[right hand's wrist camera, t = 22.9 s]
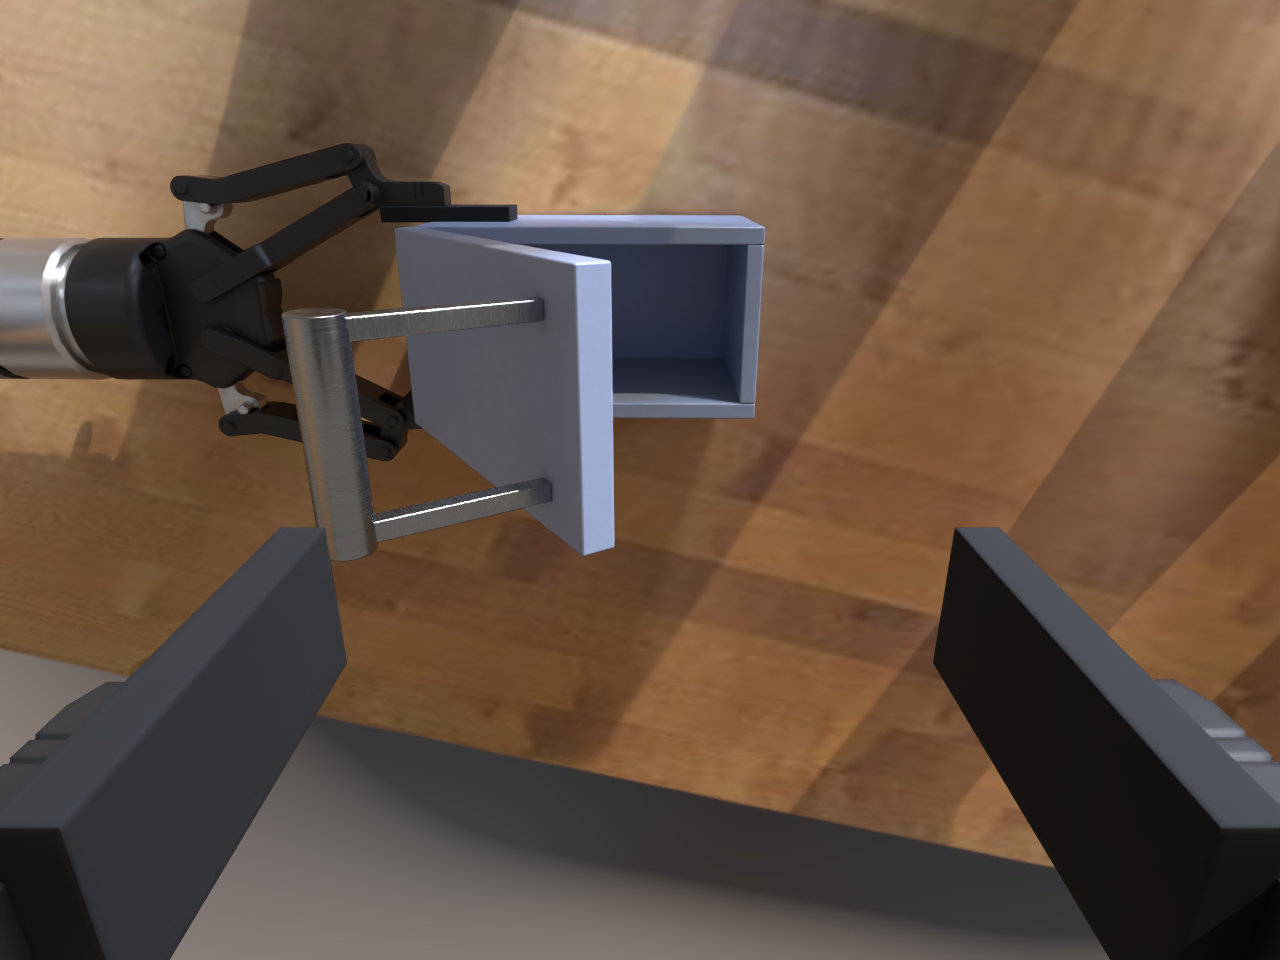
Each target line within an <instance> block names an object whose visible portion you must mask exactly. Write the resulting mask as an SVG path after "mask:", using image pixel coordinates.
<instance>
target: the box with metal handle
mask: <svg viewBox="0 0 1280 960" xmlns="http://www.w3.org/2000/svg"><path fill="white" fill-rule="evenodd" d="M394 232H395V242H396V251H397V260H398V269H399V278H400V287H401V297H402V306H403V308H397V309H385V310H374V311H363V312H351V313H347V311H346V310H345V309H341V308H335V307H312V308H301V309H295V310H290V311H286V312H284V313H282V316H281V317H282V323H283V329H284V335H285V341H286V347H287V353H288V359H289V365H290V371H291V377H292V383H293V389H294V395H295V401H296V407H297V413H298V419H299V425H300V431H301V437H302V443H303V449H304V455H305V461H306V467H307V474H308V480H309V486H310V492H311V498H312V504H313V510H314V516H315V522H316V528H325V530H326V537H327V543H328V549H329V555H330V560H332V561H350V560H356V559H359V558H363V557H365V556H368V555H370V554H371V553H373V552H374V551H375V550H376V549H377V547H378V542H382V541H386V540H390V539H394V538H399V537H403V536H407V535H411V534H416V533H420V532H424V531H428V530H432V529H437V528H441V527H445V526H449V525H454V524H458V523H462V522H466V521H471V520H475V519H479V518H483V517H488V516H492V515H496V514H500V513H505V512H509V511H513V510H517V509H521V508H523V509H524V510H525V511H527V512H528V513H529V514H530V515H532V516H533V517H534V518H535V519H537V520H538V521H539V522H540V523H542V524H543V525H544V526H545V527H547V528H548V529H549V530H551V531H552V532H553V533H554V534H556V535H557V536H558V537H559V538H561V539H562V540H563V541H564V542H566V543H567V544H568V545H569V546H571V547H572V548H573V549H574V550H576V551H577V552H578V553H579V554H581V555H582V556H586V555H590V554H594V553H597V552H601V551H604V550H608V549H611V548H614V467H613V385H612V303H611V262H610V261H608V260H603V259H597V258H591V257H586V256H580V255H575V254H569V253H563V252H558V251H552V250H546V249H541V248H535V247H529V246H524V245H518V244H512V243H507V242H501V241H496V240H490V239H484V238H479V237H473V236H467V235H462V234H456V233H450V232H445V231H439V230H433V229H428V228H422V227H404V228H395V229H394ZM400 336H406V342H407V351H408V361H409V370H410V379H411V388H412V397H413V406H414V416H415V423H416V424H417V425H419V426H420V427H421V428H422V429H424V430H425V431H426V432H428V433H429V434H430V435H431V436H433V437H434V438H435V439H436V440H438V441H439V442H440V443H441V444H443V445H444V446H445V447H446V448H448V449H449V450H450V451H451V452H453V453H454V454H455V455H456V456H458V457H459V458H460V459H461V460H463V461H464V462H465V463H466V464H468V465H469V466H470V467H471V468H473V469H474V470H475V471H476V472H478V473H479V474H480V475H481V476H483V477H484V478H485V479H486V480H488V481H489V482H490V483H492V484H493V485H494V486H495V487H496V488H491V489H486V490H482V491H477V492H473V493H468V494H463V495H459V496H454V497H450V498H445V499H440V500H436V501H431V502H427V503H422V504H417V505H413V506H408V507H404V508H399V509H394V510H390V511H385V512H381V513H376V514H374V509H373V501H372V494H371V487H370V479H369V472H368V464H367V457H366V450H365V442H364V435H363V427H362V420H361V413H360V405H359V398H358V391H357V383H356V376H355V368H354V361H353V354H352V346H351V342H353V341H362V340H372V339H381V338H391V337H400Z"/></svg>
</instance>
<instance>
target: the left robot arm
mask: <svg viewBox="0 0 1280 960" xmlns="http://www.w3.org/2000/svg"><path fill="white" fill-rule="evenodd" d="M375 160H376V157H375V153H374V151H373V150H372V149H371V148H370V147H369V146H366V145H361V144H351V143H344V144H340V145H337V146H333V147H329V148H326V149H322V150H319V151H315V152H312V153H308V154H304V155H301V156H297V157H294V158H290V159H287V160H283V161H279V162H276V163H272V164H269V165H265V166H262V167H258V168H254V169H251V170H247V171H244V172H240V173H237V174H233V175H229V176H226V177H214V176H176V177H174V178H173V179H172V181H171V184H170V188H171V192H172V193H173V195H174V196H175V197H176V198H177V199H179V200H182V201H183V208H184V218H185V228H186V230H184V231H181V232H180V233H178V234H177V235H176V236H174V237H171V238H98V239H94V240H89V239H86V238H5V239H0V379H14V378H17V379H91V380H103V379H107V378H112V377H113V378H116V379H194V380H199V381H202V382H204V383H206V384H208V385H210V386H212V387H215V388H218V392H219V395H220V398H221V401H222V405H223V408H224V411H225V414H226V415H225V416H223V417H222V418H221V419H220V420H219V428H220V430H221V431H222V432H223V433H224V434H226V435H228V436H238V435H248V434H258V433H263V434H268V435H272V436H276V437H281V438H285V439H289V440H294V441H298V442H302V437H301V431H300V425H299V419H298V413H297V407H296V405H295V404H291V403H285V402H275V401H272V402H267V398H266V396H265V395H263V394H260V393H257V392H251V391H249V390H247V389H246V388H245V387H244V386H243V383H242V381H243V380H244V379H245V378H246V377H248V376H249V375H250V374H251V373H253V372H254V371H257V372H259V373H261V374H263V375H265V376H267V377H270V378H272V379H276V380H284V381H287V382H289V383H291V384H293V383H292V377H291V371H290V365H289V359H288V353H287V347H286V341H285V335H284V329H283V323H282V317H281V316H282V313H283V311H282V309H281V301H282V288H281V282H280V279H276V278H275V276H274V274H273V273H274V272H276V271H278V270H279V269H281V268H283V267H284V266H286V265H288V264H289V263H291V262H292V261H293V260H294V259H296V258H297V257H299V256H301V255H302V254H304V253H306V252H307V251H309V250H311V249H313V248H314V247H316V246H318V245H319V244H321V243H323V242H324V241H326V240H328V239H329V238H331V237H333V236H334V235H336V234H338V233H340V232H341V231H343V230H345V229H346V228H348V227H350V226H351V225H353V224H355V223H356V222H358V221H360V220H361V219H363V218H365V217H367V216H368V215H370V214H372V213H373V212H375V211H377V210H378V209H380V213H381V221H382V222H511V221H514V220H516V219H518V217H517V205H451V197H450V186H449V185H447V184H444V183H442V182H394V181H390V180H387V179H386V178H385V177H384V176H383V175H382V174H381V172H380V171H379V168H378V166H377V164H376V162H375ZM346 175H348V177H349V179H350V181H351V183H352V185H353V188H351V189H349V190H348V191H346V192H344V193H343V194H341V195H339V196H338V197H336V198H334V199H333V200H331V201H329V202H328V203H326V204H324V205H323V206H321V207H319V208H318V209H316V210H314V211H313V212H311V213H309V214H308V215H306V216H304V217H303V218H301V219H299V220H298V221H296V222H294V223H293V224H291V225H289V226H288V227H286V228H284V229H283V230H281V231H280V232H278V233H276V234H275V235H273V236H271V237H270V238H268V239H266V240H265V241H263V242H261V243H259V244H257V245H254V246H252V247H250V248H248V249H247V250H245V251H244V250H243V249H241V248H240V247H238V246H237V245H235V244H234V243H232V242H231V241H229V240H228V239H226V238H225V237H223V236H222V235H220V234H219V233H217V232H216V231H214V230H213V229H214V224H215V222H216V221H217V220H219V219H222V218H226V217H228V216H229V215H230V214H231V212H232V208H233V205H232V203H240V202H250V201H254V200H259V199H262V198H266V197H269V196H273V195H277V194H280V193H284V192H288V191H291V190H295V189H298V188H302V187H306V186H309V185H313V184H317V183H320V182H324V181H327V180H331V179H335V178H338V177H342V176H346ZM355 376H356V383H357V391H358V398H359V405H360V413H361V417H363V418H365V419H367V420H369V421H371V422H368V421H364V420H362V427H363V435H364V442H365V450H366V457H368V458H373V459H377V460H381V461H390V460H392V459H393V458H394V457H395V456H396V455H397V453H398V452H399V451H400V450H401V449H402V448H403V447H404V445H405V444H406V442H407V434H408V430H409V429H422V428H421V427H420V426H419V425H417V424H416V423H415V416H414V406H413V397H412V390H411V391H410V392H409V393H408V394H407V395H405V396H404V397H402V396H400V395H398V394H395V393H393V392H391V391H389V390H387V389H385V388H383V387H381V386H379V385H377V384H375V383H373V382H371V381H368V380H366V379H364V378H362V377H360V376H358V375H356V374H355ZM372 422H373V423H372Z"/></svg>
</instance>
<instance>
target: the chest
mask: <svg viewBox="0 0 1280 960" xmlns="http://www.w3.org/2000/svg"><path fill="white" fill-rule="evenodd" d="M517 217H518V219H516V220H514V221H511V222H429V223H425V224H421V225H416V226H413V227H422V228H428V229H433V230H439V231H445V232H450V233H456V234H462V235H467V236H473V237H479V238H484V239H490V240H496V241H501V242H507V243H512V244H518V245H524V246H529V247H535V248H541V249H546V250H552V251H558V252H563V253H569V254H575V255H580V256H586V257H591V258H597V259H603V260H608V261H610V262H611V303H612V385H613V418H727V419H753V418H754V415H755V404H754V403H755V397H756V379H757V362H758V344H759V327H760V309H761V292H762V274H763V257H764V245H763V244H764V240H765V227H763V226H761V225H759V224H757V223H755V222H753V221H751V220H749V219H747V218H745V217H743V216H742V215H741V214H517Z"/></svg>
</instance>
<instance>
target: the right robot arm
mask: <svg viewBox="0 0 1280 960" xmlns="http://www.w3.org/2000/svg"><path fill="white" fill-rule="evenodd" d="M346 664H347V660H346V654H345V648H344V641H343V635H342V629H341V623H340V617H339V611H338V604H337V598H336V592H335V586H334V580H333V574H332V567H331V561H330V555H329V549H328V543H327V537H326V530H325V528H280V529H279V530H278V531H277V532H276V533H275V534H274V535H273V536H272V537H271V538H270V539H269V540H268V541H267V542H266V543H264V544H263V545H262V546H261V547H260V548H259V549H258V550H257V551H256V552H255V553H254V554H253V555H252V556H251V557H250V558H249V559H248V560H247V561H246V562H245V563H244V564H243V565H242V566H241V567H240V568H239V569H238V570H237V571H236V572H235V573H234V574H233V575H232V576H231V577H230V578H229V579H228V580H227V581H226V582H225V583H224V584H223V585H222V586H221V587H220V588H219V589H218V590H217V591H216V592H215V593H214V594H213V595H212V596H211V597H210V598H209V599H208V600H207V601H206V602H205V603H204V604H203V605H202V606H201V607H200V608H199V609H198V610H197V611H196V612H195V613H194V614H193V615H192V616H191V617H190V618H189V619H188V620H187V621H186V622H185V623H184V624H183V625H182V626H181V627H180V628H179V629H178V630H177V631H176V632H174V633H173V634H172V635H171V636H170V637H169V638H168V639H167V640H166V641H165V642H164V643H163V644H162V645H161V646H160V647H159V648H158V649H157V650H156V651H155V652H154V653H153V654H152V655H151V656H150V657H149V658H148V659H147V660H146V661H145V662H144V663H143V664H142V665H141V666H140V667H139V668H138V669H137V670H136V671H135V672H134V673H133V674H132V675H131V676H130V677H129V678H128V679H127V680H126V681H125V682H106V683H105V684H103V685H101V686H100V687H98V688H96V689H94V690H93V691H91V692H89V693H88V694H86V695H84V696H82V697H81V698H79V699H77V700H76V701H74V702H72V703H70V704H69V705H67V706H66V707H64V708H63V709H62V710H61V711H60V712H59V713H58V714H57V715H56V716H55V717H54V718H53V719H52V720H51V721H49V722H48V723H47V724H46V725H45V726H44V727H43V728H42V729H41V730H40V731H39V732H38V733H37V734H36V737H35V740H29V741H28V742H27V743H26V744H25V745H24V746H23V747H22V748H20V749H19V750H18V751H17V752H16V753H15V754H14V755H13V756H12V757H11V758H10V763H9V764H3V765H2V766H1V767H0V960H170V958H171V957H172V955H173V953H174V952H175V950H176V948H177V947H178V945H179V943H180V942H181V940H182V938H183V937H184V935H185V933H186V932H187V930H188V928H189V926H190V925H191V923H192V921H193V920H194V918H195V916H196V915H197V913H198V911H199V910H200V908H201V906H202V905H203V903H204V901H205V900H206V898H207V896H208V895H209V893H210V891H211V890H212V888H213V886H214V885H215V883H216V881H217V880H218V878H219V876H220V875H221V873H222V871H223V870H224V868H225V866H226V865H227V863H228V861H229V860H230V858H231V856H232V854H233V853H234V851H235V849H236V848H237V846H238V844H239V843H240V841H241V839H242V838H243V836H244V834H245V833H246V831H247V829H248V828H249V826H250V824H251V823H252V821H253V819H254V818H255V816H256V814H257V813H258V811H259V809H260V808H261V806H262V804H263V802H264V801H265V799H266V798H267V796H268V794H269V793H270V791H271V789H272V788H273V786H274V784H275V783H276V781H277V779H278V777H279V776H280V774H281V772H282V771H283V769H284V767H285V766H286V764H287V762H288V761H289V759H290V757H291V756H292V754H293V752H294V751H295V749H296V747H297V746H298V744H299V742H300V741H301V739H302V737H303V736H304V734H305V732H306V731H307V729H308V727H309V726H310V724H311V722H312V721H313V719H314V717H315V716H316V714H317V712H318V711H319V709H320V707H321V705H322V704H323V702H324V700H325V699H326V697H327V695H328V694H329V692H330V690H331V689H332V687H333V685H334V684H335V682H336V680H337V679H338V677H339V675H340V674H341V672H342V670H343V669H344V667H345V665H346ZM933 664H934V665H935V667H936V669H937V670H938V672H939V674H940V675H941V677H942V679H943V680H944V682H945V684H946V685H947V687H948V689H949V690H950V692H951V694H952V695H953V697H954V699H955V700H956V702H957V704H958V706H959V707H960V709H961V711H962V712H963V714H964V716H965V717H966V719H967V721H968V722H969V724H970V726H971V727H972V729H973V731H974V732H975V734H976V736H977V737H978V739H979V741H980V742H981V744H982V746H983V747H984V749H985V751H986V752H987V754H988V756H989V757H990V759H991V761H992V762H993V764H994V766H995V767H996V769H997V771H998V772H999V774H1000V776H1001V778H1002V779H1003V781H1004V783H1005V784H1006V786H1007V788H1008V789H1009V791H1010V793H1011V794H1012V796H1013V798H1014V799H1015V801H1016V803H1017V804H1018V806H1019V808H1020V809H1021V811H1022V813H1023V814H1024V816H1025V818H1026V819H1027V821H1028V823H1029V824H1030V826H1031V828H1032V829H1033V831H1034V833H1035V834H1036V836H1037V838H1038V839H1039V841H1040V843H1041V844H1042V846H1043V848H1044V850H1045V851H1046V853H1047V855H1048V856H1049V858H1050V860H1051V861H1052V863H1053V865H1054V866H1055V868H1056V870H1057V871H1058V873H1059V875H1060V876H1061V878H1062V880H1063V881H1064V883H1065V885H1066V886H1067V888H1068V890H1069V891H1070V893H1071V895H1072V896H1073V898H1074V900H1075V901H1076V903H1077V905H1078V906H1079V908H1080V910H1081V911H1082V913H1083V915H1084V916H1085V918H1086V920H1087V922H1088V923H1089V925H1090V927H1091V928H1092V930H1093V932H1094V933H1095V935H1096V937H1097V938H1098V940H1099V942H1100V943H1101V945H1102V947H1103V948H1104V950H1105V952H1106V953H1107V955H1108V957H1109V958H1110V960H1280V763H1279V762H1278V761H1272V760H1271V755H1270V754H1269V753H1268V752H1267V751H1266V750H1265V749H1264V748H1263V747H1261V746H1260V745H1259V744H1258V743H1257V742H1256V741H1255V740H1254V739H1253V738H1252V737H1246V735H1245V731H1244V730H1243V729H1242V728H1241V727H1240V726H1239V725H1238V724H1237V723H1235V722H1234V721H1233V720H1232V719H1231V718H1230V717H1229V716H1228V715H1227V714H1226V713H1225V712H1224V711H1222V710H1221V709H1220V708H1219V707H1218V706H1217V705H1216V704H1215V703H1213V702H1211V701H1210V700H1208V699H1206V698H1205V697H1203V696H1201V695H1199V694H1198V693H1196V692H1194V691H1193V690H1191V689H1189V688H1187V687H1186V686H1184V685H1182V684H1181V683H1179V682H1177V681H1175V680H1174V679H1152V678H1151V677H1150V676H1149V675H1148V674H1147V673H1146V672H1145V671H1144V670H1143V669H1142V668H1141V667H1140V666H1139V665H1138V664H1137V663H1136V662H1135V661H1134V660H1133V659H1132V658H1131V657H1130V656H1129V655H1128V654H1127V653H1126V652H1125V651H1124V650H1123V649H1122V648H1121V647H1120V646H1119V645H1118V644H1117V643H1116V642H1115V641H1114V640H1113V639H1112V638H1111V637H1110V636H1109V635H1108V634H1107V633H1105V632H1104V631H1103V630H1102V629H1101V628H1100V627H1099V626H1098V625H1097V624H1096V623H1095V622H1094V621H1093V620H1092V619H1091V618H1090V617H1089V616H1088V615H1087V614H1086V613H1085V612H1084V611H1083V610H1082V609H1081V608H1080V607H1079V606H1078V605H1077V604H1076V603H1075V602H1074V601H1073V600H1072V599H1071V598H1070V597H1069V596H1068V595H1067V594H1066V593H1065V592H1064V591H1063V590H1062V589H1061V588H1060V587H1059V586H1058V585H1057V584H1056V583H1055V582H1054V581H1053V580H1052V579H1051V578H1050V577H1049V576H1048V575H1047V574H1046V573H1045V572H1044V571H1043V570H1042V569H1041V568H1040V567H1039V566H1038V565H1037V564H1036V563H1035V562H1034V561H1033V560H1032V559H1031V558H1030V557H1029V556H1028V555H1027V554H1026V553H1025V552H1024V551H1023V550H1022V549H1021V548H1020V547H1019V546H1018V545H1017V544H1015V543H1014V542H1013V541H1012V540H1011V539H1010V538H1009V537H1008V536H1007V535H1006V534H1005V533H1004V532H1003V531H1002V530H1001V529H1000V528H955V530H954V536H953V543H952V549H951V555H950V561H949V567H948V573H947V580H946V586H945V592H944V598H943V604H942V610H941V617H940V623H939V629H938V635H937V641H936V647H935V654H934V660H933Z"/></svg>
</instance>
